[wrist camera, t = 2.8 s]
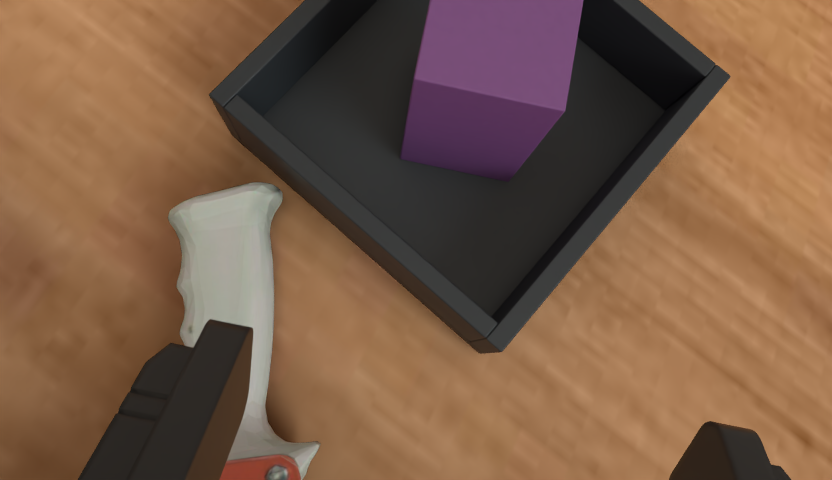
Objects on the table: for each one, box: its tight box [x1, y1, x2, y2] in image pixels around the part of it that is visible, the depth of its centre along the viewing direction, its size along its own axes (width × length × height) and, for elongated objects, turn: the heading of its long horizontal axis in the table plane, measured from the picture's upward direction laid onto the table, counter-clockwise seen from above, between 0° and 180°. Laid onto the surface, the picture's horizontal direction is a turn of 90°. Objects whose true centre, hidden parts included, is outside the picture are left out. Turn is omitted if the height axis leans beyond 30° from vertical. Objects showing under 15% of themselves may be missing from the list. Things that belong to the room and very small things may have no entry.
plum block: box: [400, 0, 583, 182], centre depth 24 cm, size 4×4×8 cm
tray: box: [209, 0, 730, 353], centre depth 27 cm, size 13×13×4 cm
